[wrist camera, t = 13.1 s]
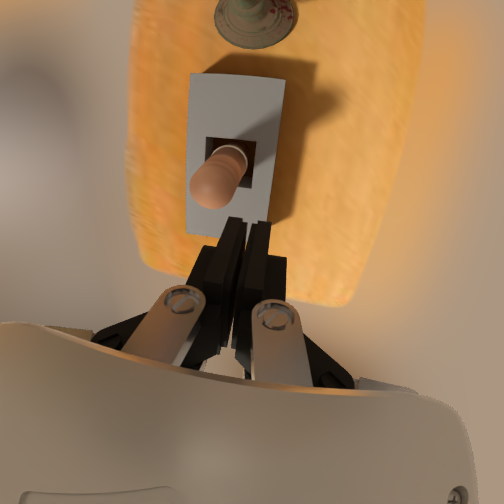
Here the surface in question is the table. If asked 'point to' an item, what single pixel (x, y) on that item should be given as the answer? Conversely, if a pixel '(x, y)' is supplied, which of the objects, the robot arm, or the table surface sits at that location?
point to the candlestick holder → (253, 22)
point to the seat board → (233, 127)
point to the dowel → (219, 175)
